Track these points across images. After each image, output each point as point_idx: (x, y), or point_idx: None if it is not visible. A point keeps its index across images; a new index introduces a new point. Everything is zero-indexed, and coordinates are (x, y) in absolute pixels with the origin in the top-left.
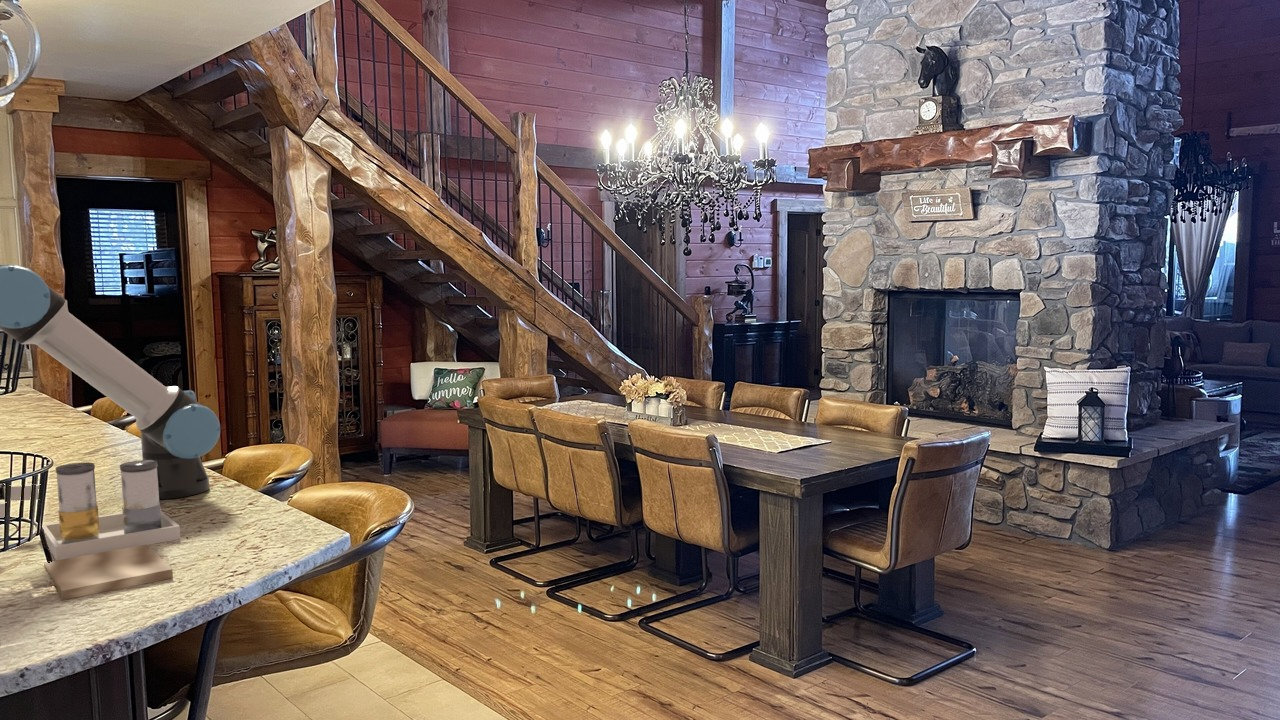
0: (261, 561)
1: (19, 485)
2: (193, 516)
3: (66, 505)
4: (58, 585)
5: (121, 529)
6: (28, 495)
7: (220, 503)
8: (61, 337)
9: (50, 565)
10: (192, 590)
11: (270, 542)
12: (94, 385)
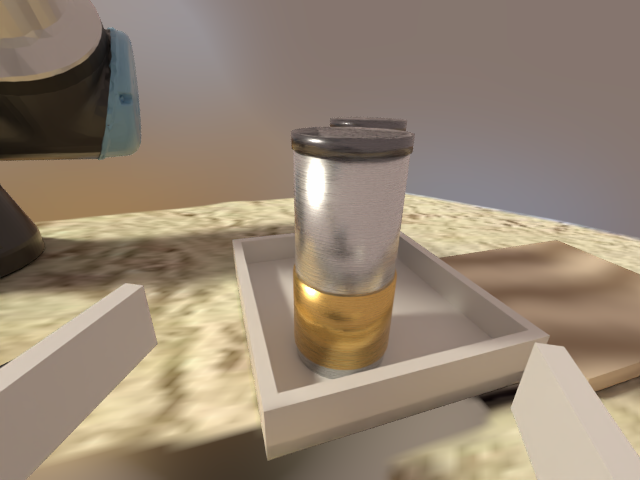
0: (467, 214)
1: (7, 365)
2: (209, 246)
3: (395, 260)
4: None
5: (279, 294)
6: (104, 372)
7: (151, 230)
8: None
9: (606, 362)
10: (589, 242)
11: None
12: None
